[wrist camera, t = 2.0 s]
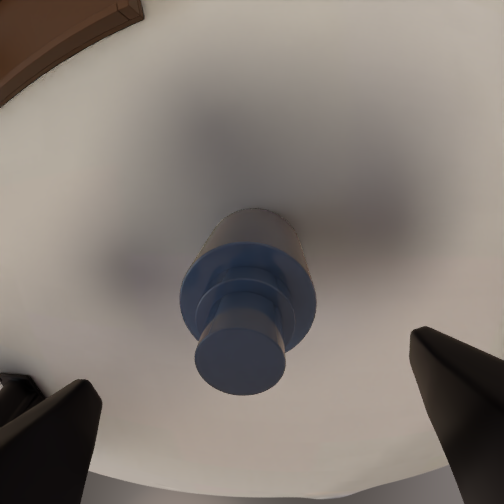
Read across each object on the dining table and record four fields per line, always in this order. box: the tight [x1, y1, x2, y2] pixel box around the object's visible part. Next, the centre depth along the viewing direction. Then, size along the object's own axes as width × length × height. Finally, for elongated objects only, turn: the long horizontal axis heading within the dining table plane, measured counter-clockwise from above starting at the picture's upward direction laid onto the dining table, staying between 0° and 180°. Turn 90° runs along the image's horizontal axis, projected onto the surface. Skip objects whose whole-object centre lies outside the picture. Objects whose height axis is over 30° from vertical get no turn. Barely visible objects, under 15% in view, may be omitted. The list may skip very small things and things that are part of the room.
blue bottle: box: [180, 208, 317, 396], centre depth 12 cm, size 5×5×8 cm
